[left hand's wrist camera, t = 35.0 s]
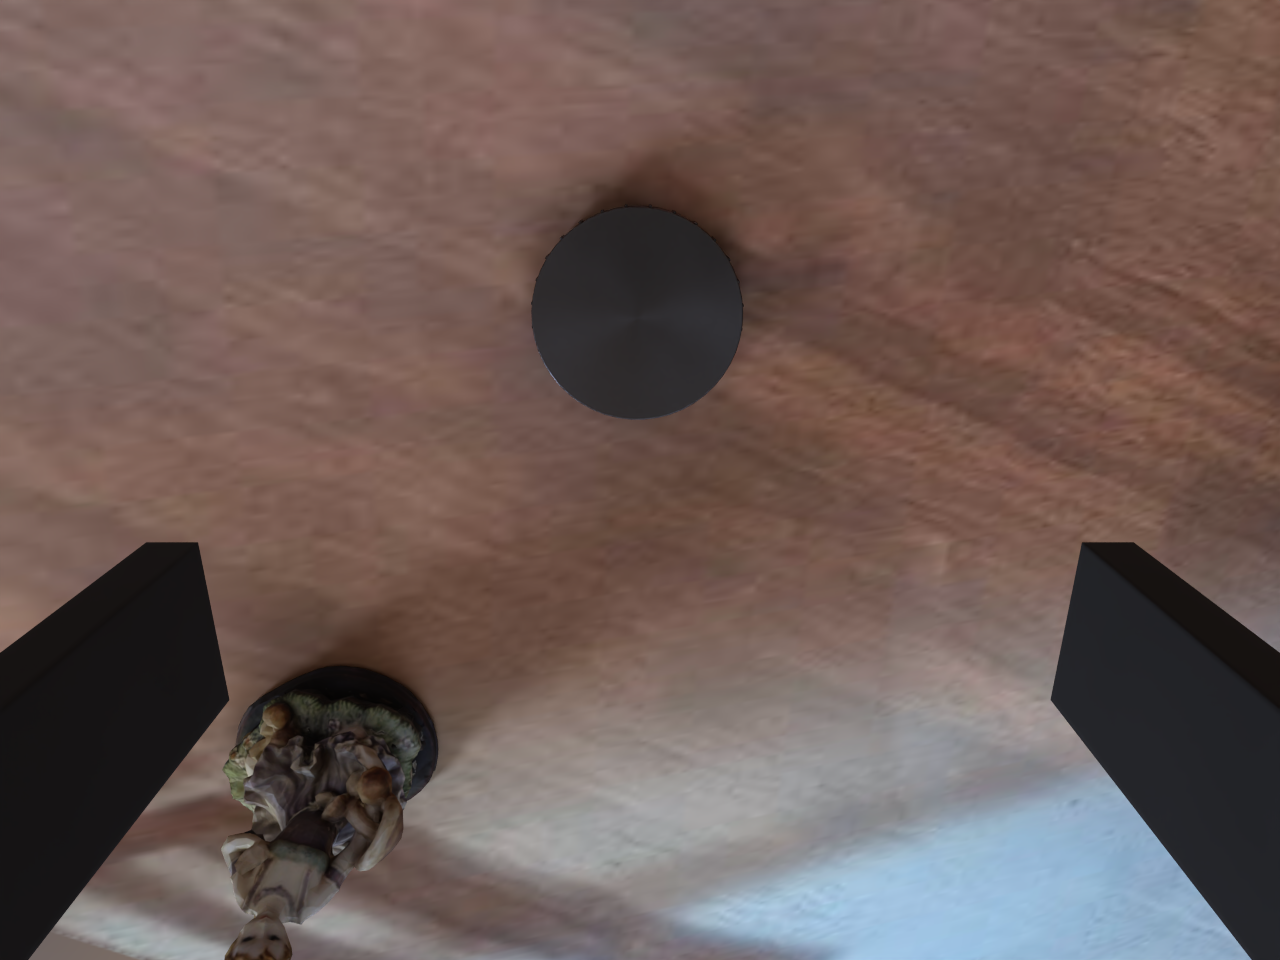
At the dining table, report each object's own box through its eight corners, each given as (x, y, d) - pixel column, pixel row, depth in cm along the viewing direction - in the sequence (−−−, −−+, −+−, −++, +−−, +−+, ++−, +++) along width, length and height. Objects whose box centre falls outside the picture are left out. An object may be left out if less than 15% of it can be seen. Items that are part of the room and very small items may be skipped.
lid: (588, 165, 38) (585, 165, 36) (776, 264, 39) (783, 268, 38) (502, 357, 41) (496, 365, 39) (681, 442, 42) (683, 454, 41)
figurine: (422, 660, 47) (328, 871, 33) (452, 815, 50) (380, 1065, 36) (212, 674, 47) (30, 889, 33) (258, 828, 51) (112, 1080, 37)
